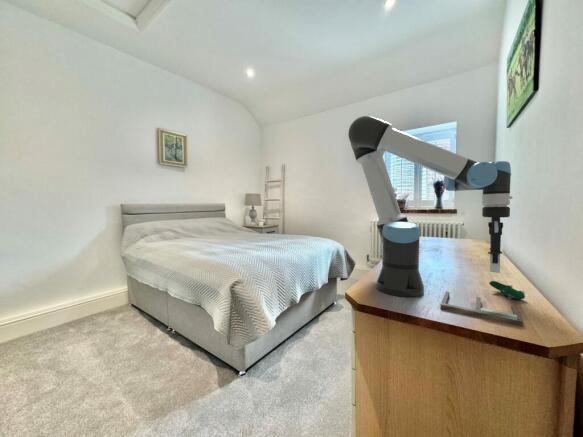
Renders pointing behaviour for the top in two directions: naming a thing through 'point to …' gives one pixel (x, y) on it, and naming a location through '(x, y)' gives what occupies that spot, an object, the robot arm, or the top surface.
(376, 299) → the top surface
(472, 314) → the letter e shape
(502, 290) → the gaming controller
